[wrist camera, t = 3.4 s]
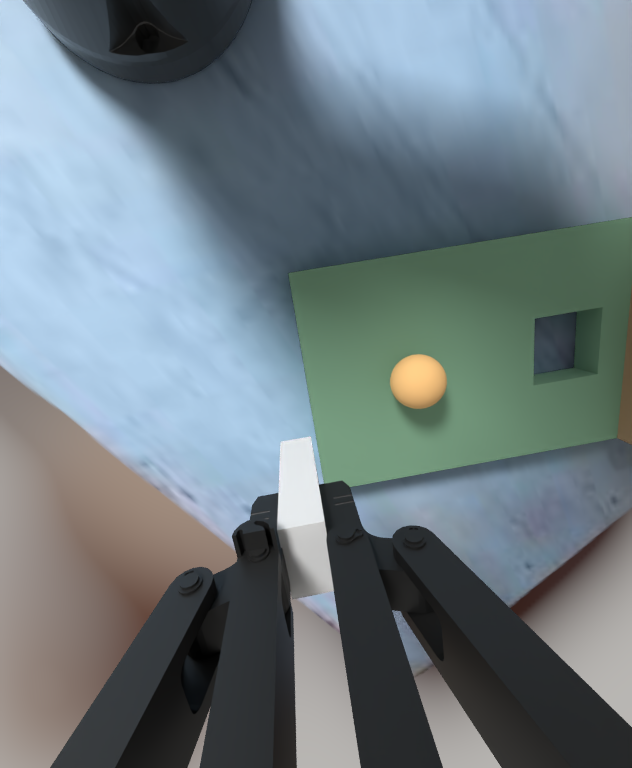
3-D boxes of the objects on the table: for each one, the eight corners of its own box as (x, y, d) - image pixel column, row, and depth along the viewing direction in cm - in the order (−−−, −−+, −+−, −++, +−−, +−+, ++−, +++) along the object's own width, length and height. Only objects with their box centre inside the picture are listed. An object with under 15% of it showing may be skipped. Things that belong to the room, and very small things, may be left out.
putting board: (322, 476, 32) (329, 513, 27) (288, 274, 27) (288, 271, 22) (613, 423, 33) (675, 449, 28) (632, 218, 28) (712, 202, 23)
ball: (373, 381, 27) (387, 396, 24) (405, 339, 27) (425, 348, 23) (411, 408, 28) (431, 427, 24) (443, 368, 28) (468, 382, 24)
